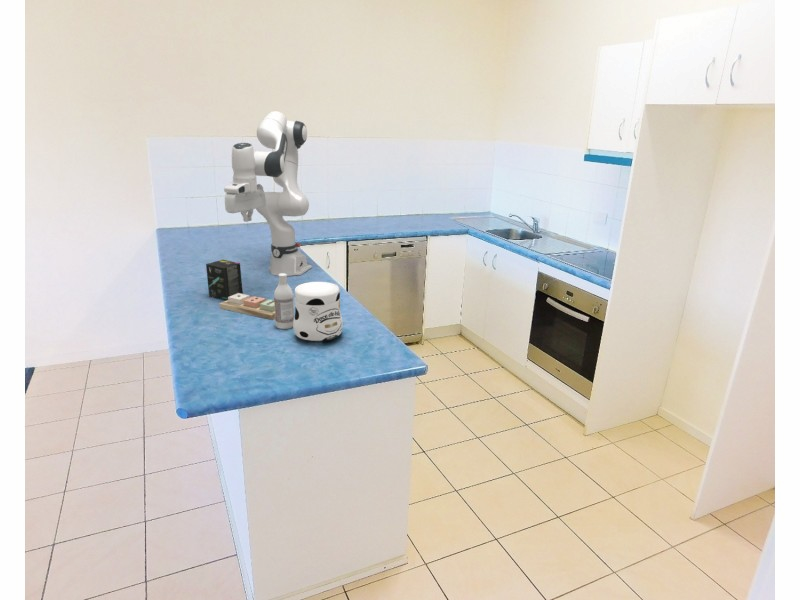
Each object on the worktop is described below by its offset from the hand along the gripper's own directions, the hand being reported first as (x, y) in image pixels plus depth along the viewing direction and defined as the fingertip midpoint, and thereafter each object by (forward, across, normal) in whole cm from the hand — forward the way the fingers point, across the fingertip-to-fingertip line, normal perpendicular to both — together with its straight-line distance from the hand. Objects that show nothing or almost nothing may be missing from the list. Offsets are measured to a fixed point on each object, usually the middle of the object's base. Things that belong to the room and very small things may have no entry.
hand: (247, 221), depth 214 cm
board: (+33, +9, +9) cm, 36 cm away
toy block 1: (+33, +9, +1) cm, 34 cm away
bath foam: (+33, +18, +30) cm, 48 cm away
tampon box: (+33, +3, -12) cm, 36 cm away
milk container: (+33, +20, +46) cm, 60 cm away
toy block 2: (+33, +9, +9) cm, 35 cm away
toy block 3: (+33, +9, +17) cm, 38 cm away
